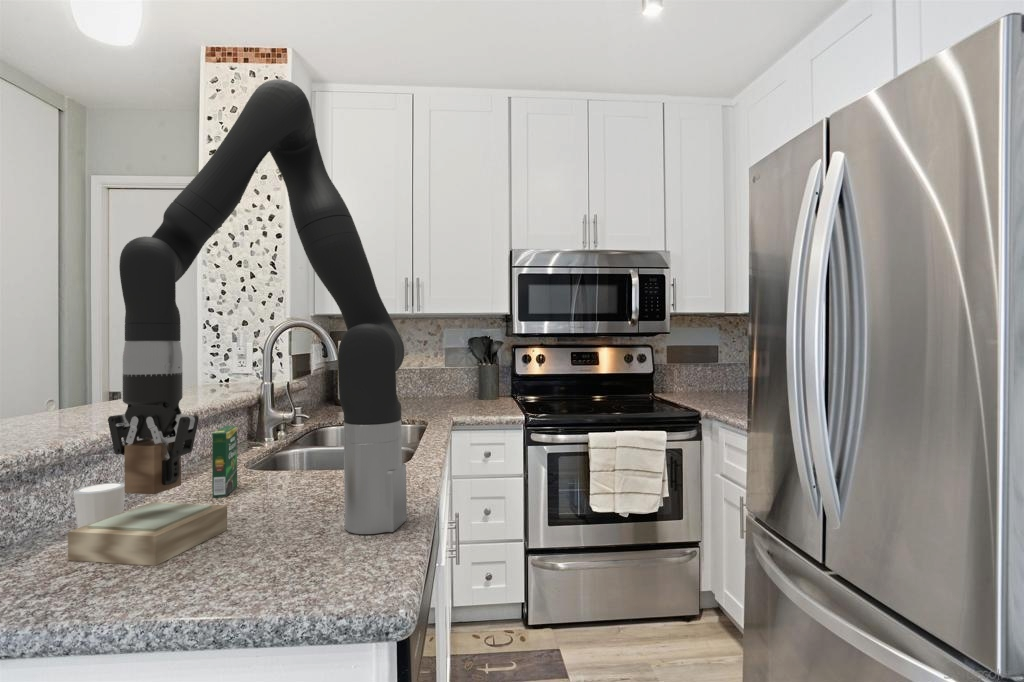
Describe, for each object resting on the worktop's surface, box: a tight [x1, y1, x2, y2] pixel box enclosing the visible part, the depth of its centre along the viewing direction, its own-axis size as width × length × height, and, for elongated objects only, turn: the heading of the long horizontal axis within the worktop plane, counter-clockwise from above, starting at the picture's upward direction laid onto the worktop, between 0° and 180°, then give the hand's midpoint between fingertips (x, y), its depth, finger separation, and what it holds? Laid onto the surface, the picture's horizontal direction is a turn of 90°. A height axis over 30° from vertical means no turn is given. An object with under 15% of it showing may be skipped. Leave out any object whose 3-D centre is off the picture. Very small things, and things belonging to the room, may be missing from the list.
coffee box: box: [211, 425, 238, 498], centre depth 107 cm, size 8×3×13 cm, turn 13°
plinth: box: [67, 501, 228, 567], centre depth 79 cm, size 14×14×4 cm
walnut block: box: [124, 439, 182, 495], centre depth 79 cm, size 5×5×7 cm
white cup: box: [73, 482, 126, 528], centre depth 85 cm, size 7×7×7 cm
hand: (153, 482), depth 79 cm, fingers closed on walnut block, 5 cm apart
